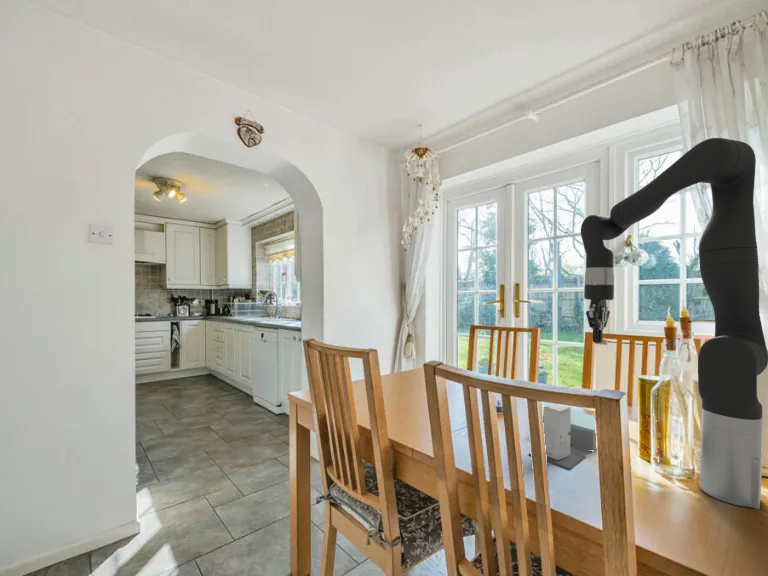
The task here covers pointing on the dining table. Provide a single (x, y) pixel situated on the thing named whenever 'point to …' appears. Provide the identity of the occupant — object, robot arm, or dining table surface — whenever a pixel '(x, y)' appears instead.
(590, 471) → the dining table surface
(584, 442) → the grey open box
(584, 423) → the lid
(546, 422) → the skincare box
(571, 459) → the rubber mat
